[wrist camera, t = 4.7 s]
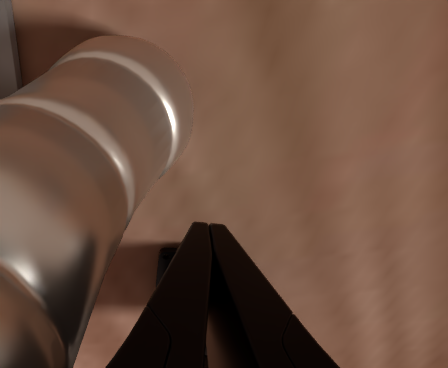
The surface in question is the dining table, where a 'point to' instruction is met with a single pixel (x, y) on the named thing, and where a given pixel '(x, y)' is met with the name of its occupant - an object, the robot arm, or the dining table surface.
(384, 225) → the dining table surface
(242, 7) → the dining table surface
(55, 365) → the plastic bottle
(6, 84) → the bottle rest
